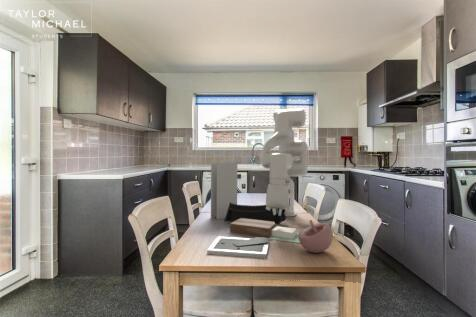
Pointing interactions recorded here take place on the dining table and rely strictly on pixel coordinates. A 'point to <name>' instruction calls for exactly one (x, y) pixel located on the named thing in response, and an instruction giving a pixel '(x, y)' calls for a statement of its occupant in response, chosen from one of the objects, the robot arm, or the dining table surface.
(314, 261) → the dining table surface
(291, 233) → the tile
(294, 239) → the mat
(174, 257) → the dining table surface
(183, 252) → the dining table surface
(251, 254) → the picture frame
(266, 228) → the block
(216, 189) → the tall grey block
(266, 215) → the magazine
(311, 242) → the mortar and pestle
